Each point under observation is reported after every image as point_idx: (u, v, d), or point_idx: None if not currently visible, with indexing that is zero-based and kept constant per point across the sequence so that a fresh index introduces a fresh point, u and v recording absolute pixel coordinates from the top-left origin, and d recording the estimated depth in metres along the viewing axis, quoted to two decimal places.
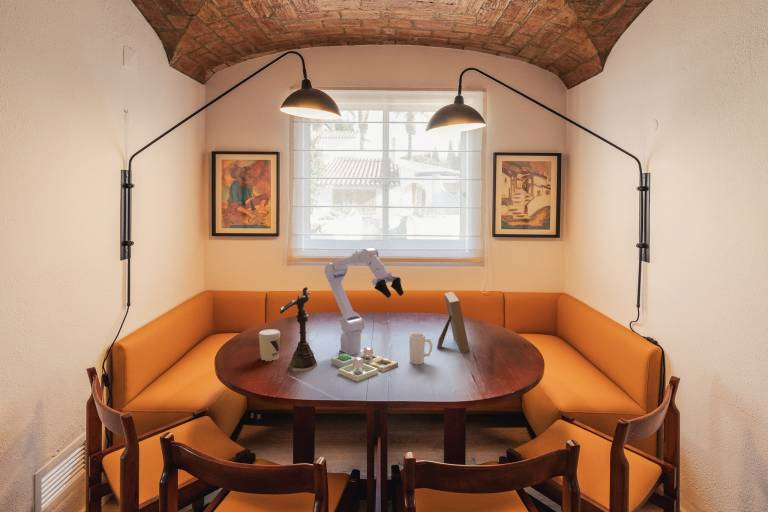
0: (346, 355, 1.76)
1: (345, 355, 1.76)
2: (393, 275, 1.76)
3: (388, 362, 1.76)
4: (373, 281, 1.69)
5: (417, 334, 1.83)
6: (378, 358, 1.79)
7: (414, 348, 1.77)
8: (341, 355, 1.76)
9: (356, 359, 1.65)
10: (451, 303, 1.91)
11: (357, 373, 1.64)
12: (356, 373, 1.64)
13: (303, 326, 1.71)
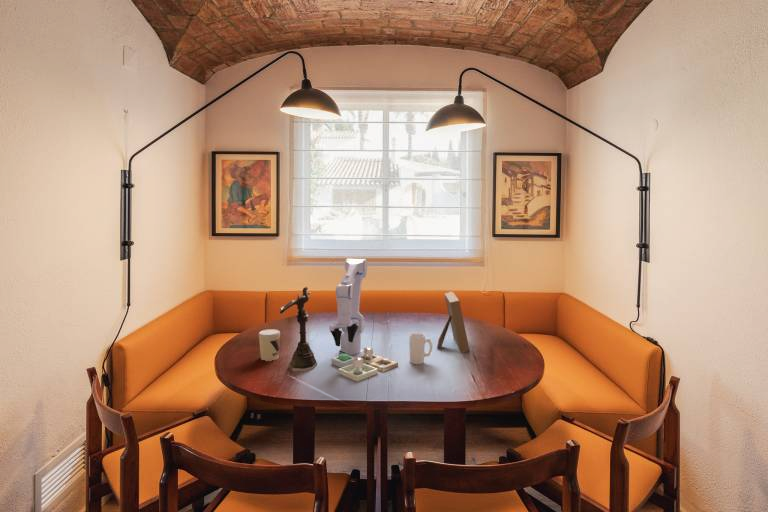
0: (346, 355, 1.76)
1: (345, 355, 1.76)
2: (354, 322, 1.76)
3: (388, 362, 1.76)
4: (331, 327, 1.69)
5: (417, 334, 1.83)
6: (378, 358, 1.79)
7: (414, 348, 1.77)
8: (341, 355, 1.76)
9: (356, 359, 1.65)
10: (451, 303, 1.91)
11: (357, 373, 1.64)
12: (356, 373, 1.64)
13: (303, 326, 1.71)
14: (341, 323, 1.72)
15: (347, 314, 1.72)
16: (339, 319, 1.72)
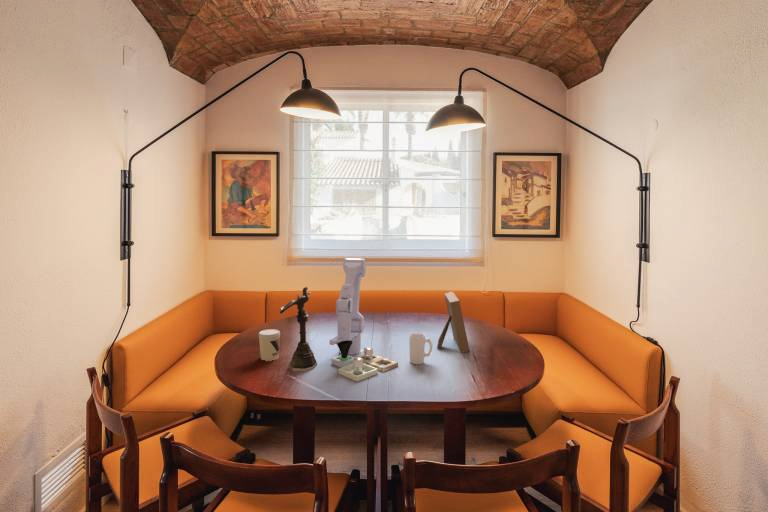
0: None
1: None
2: (354, 335, 1.77)
3: (388, 362, 1.76)
4: (331, 342, 1.70)
5: (417, 334, 1.83)
6: (378, 358, 1.79)
7: (414, 348, 1.77)
8: (341, 357, 1.76)
9: (356, 359, 1.65)
10: (451, 303, 1.91)
11: (357, 373, 1.64)
12: (356, 373, 1.64)
13: (303, 326, 1.71)
14: (341, 337, 1.72)
15: (347, 328, 1.72)
16: (339, 333, 1.73)
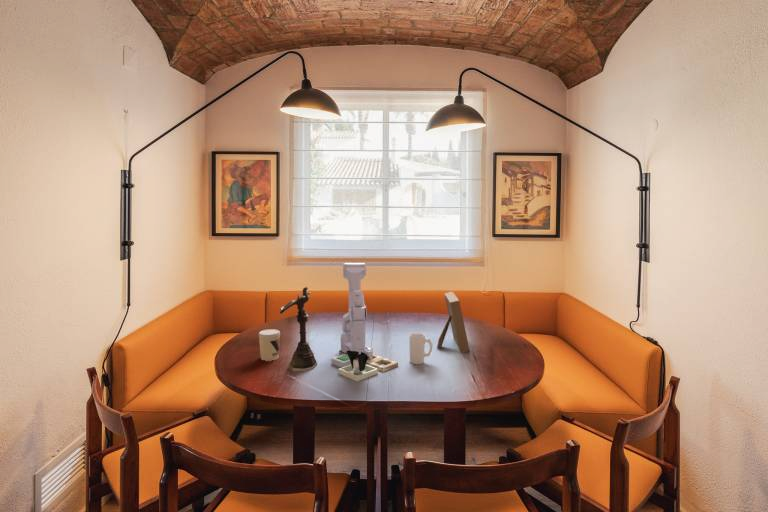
0: (346, 357, 1.76)
1: (345, 357, 1.76)
2: (361, 350, 1.61)
3: (388, 362, 1.76)
4: None
5: (417, 334, 1.83)
6: (378, 358, 1.79)
7: (414, 348, 1.77)
8: (341, 357, 1.76)
9: (356, 359, 1.65)
10: (451, 303, 1.91)
11: (357, 373, 1.64)
12: (356, 373, 1.64)
13: (303, 326, 1.71)
14: None
15: (352, 337, 1.63)
16: None
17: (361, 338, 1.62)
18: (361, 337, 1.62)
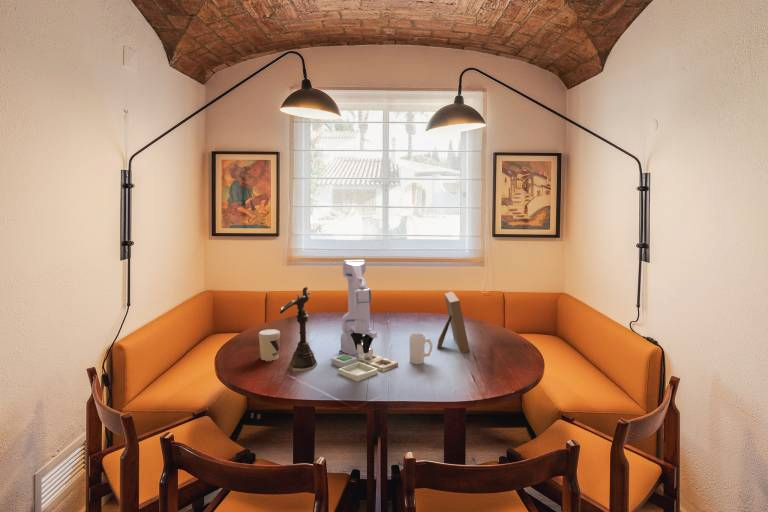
0: (346, 357, 1.76)
1: (345, 357, 1.76)
2: (366, 332, 1.61)
3: (388, 362, 1.76)
4: None
5: (417, 334, 1.83)
6: (378, 358, 1.79)
7: (414, 348, 1.77)
8: (341, 357, 1.76)
9: (360, 344, 1.65)
10: (451, 303, 1.91)
11: (361, 358, 1.65)
12: (360, 358, 1.65)
13: (303, 326, 1.71)
14: None
15: (356, 319, 1.63)
16: None
17: (365, 320, 1.62)
18: (366, 319, 1.63)
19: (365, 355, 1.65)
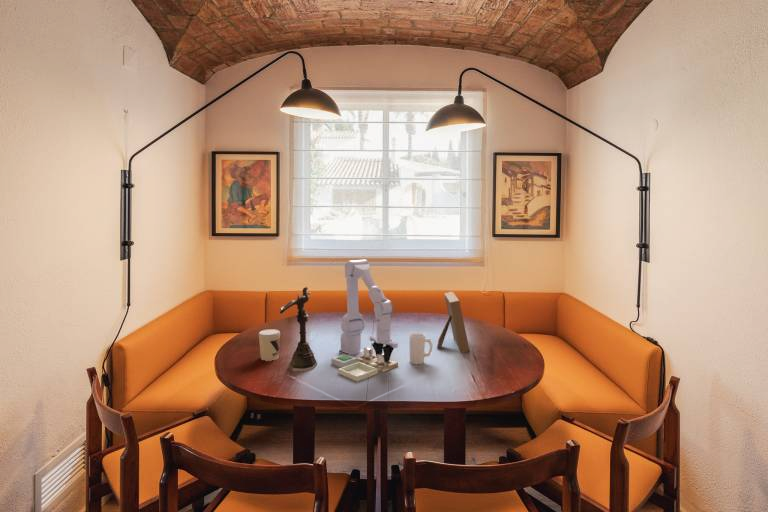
0: (346, 357, 1.76)
1: (345, 357, 1.76)
2: (387, 342, 1.69)
3: (388, 362, 1.76)
4: None
5: (417, 334, 1.83)
6: None
7: (414, 348, 1.77)
8: (341, 357, 1.76)
9: (380, 354, 1.73)
10: (451, 303, 1.91)
11: None
12: None
13: (303, 326, 1.71)
14: None
15: (377, 330, 1.71)
16: None
17: (386, 331, 1.70)
18: (389, 329, 1.71)
19: None
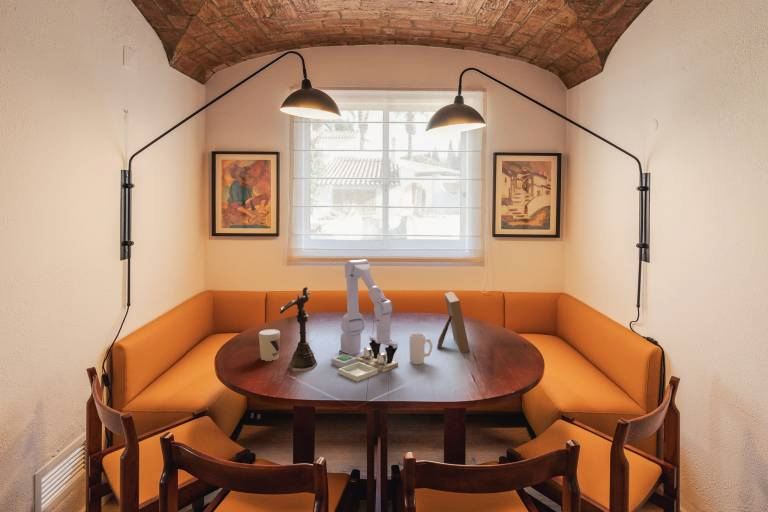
0: (346, 357, 1.76)
1: (345, 357, 1.76)
2: (387, 342, 1.69)
3: None
4: None
5: (417, 334, 1.83)
6: None
7: (414, 348, 1.77)
8: (341, 357, 1.76)
9: (380, 354, 1.73)
10: (451, 303, 1.91)
11: None
12: None
13: (303, 326, 1.71)
14: None
15: (377, 330, 1.71)
16: None
17: (386, 331, 1.70)
18: (389, 329, 1.71)
19: None
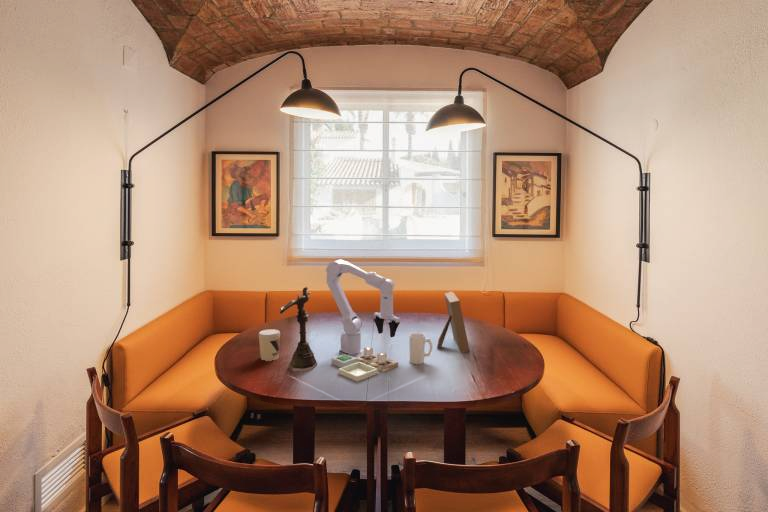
0: (346, 357, 1.76)
1: (345, 357, 1.76)
2: (390, 318, 1.83)
3: (388, 362, 1.76)
4: None
5: (417, 334, 1.83)
6: None
7: (414, 348, 1.77)
8: (341, 357, 1.76)
9: (380, 354, 1.73)
10: (451, 303, 1.91)
11: None
12: None
13: (303, 326, 1.71)
14: None
15: (381, 307, 1.85)
16: None
17: (389, 307, 1.85)
18: (392, 305, 1.87)
19: None
